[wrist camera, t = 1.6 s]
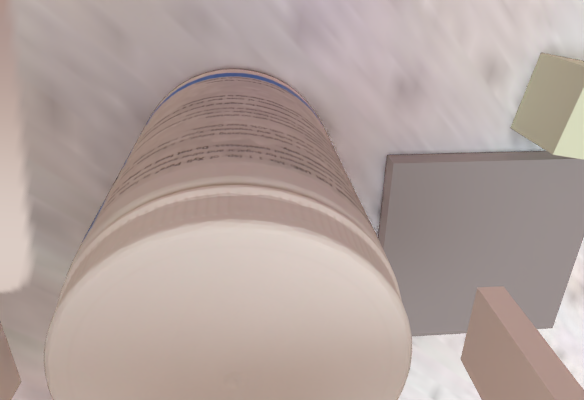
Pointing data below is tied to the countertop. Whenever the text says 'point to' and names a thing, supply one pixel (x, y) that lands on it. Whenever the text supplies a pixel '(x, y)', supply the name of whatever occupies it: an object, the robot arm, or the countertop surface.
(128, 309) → the supplement tub
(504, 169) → the slate coaster
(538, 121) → the pale green cube
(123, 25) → the countertop surface
